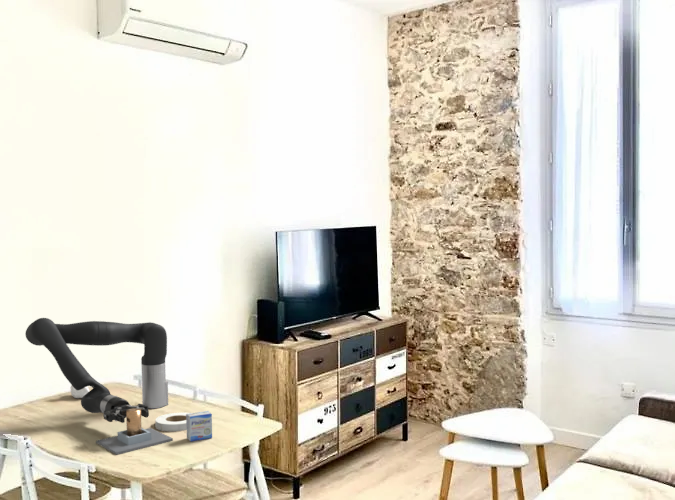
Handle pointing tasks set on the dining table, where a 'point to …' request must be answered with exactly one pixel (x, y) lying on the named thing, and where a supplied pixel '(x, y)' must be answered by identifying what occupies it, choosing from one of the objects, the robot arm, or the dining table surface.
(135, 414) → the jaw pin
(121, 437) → the housing
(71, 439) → the dining table surface
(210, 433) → the medicine box
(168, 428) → the roll of tape
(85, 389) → the duck figurine
